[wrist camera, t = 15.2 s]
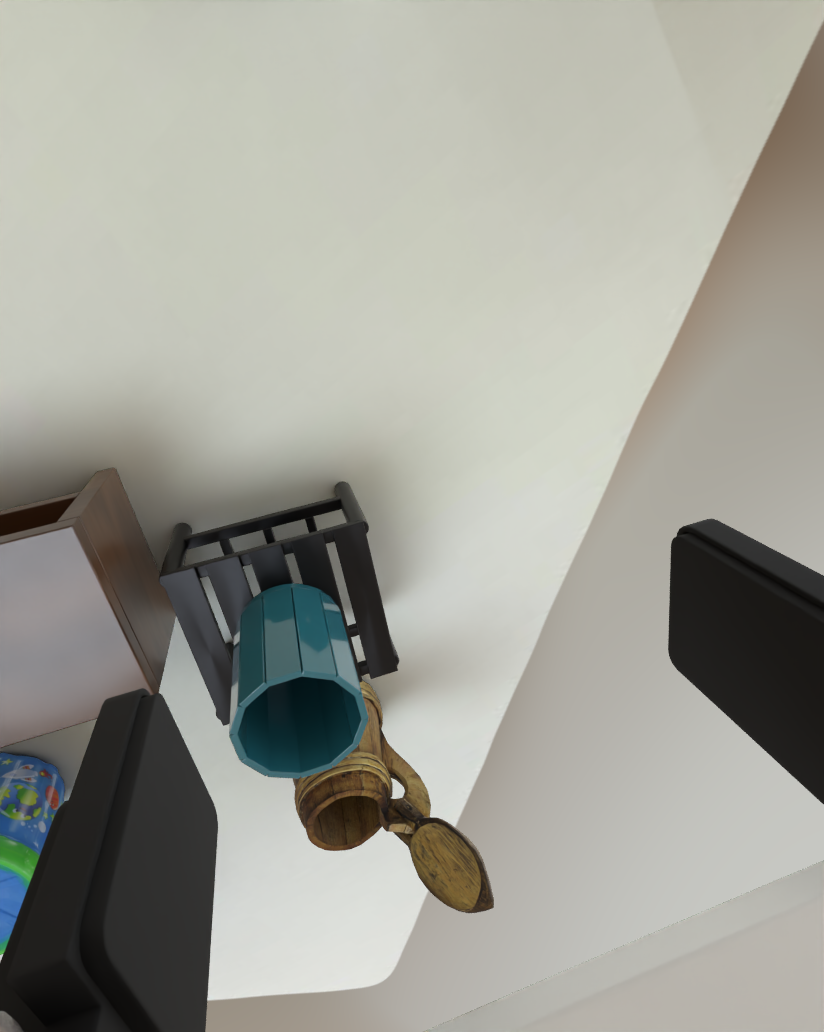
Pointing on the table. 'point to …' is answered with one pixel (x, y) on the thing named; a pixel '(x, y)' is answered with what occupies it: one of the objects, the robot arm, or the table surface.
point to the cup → (294, 684)
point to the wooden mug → (391, 816)
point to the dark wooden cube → (76, 609)
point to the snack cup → (23, 828)
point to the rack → (273, 572)
